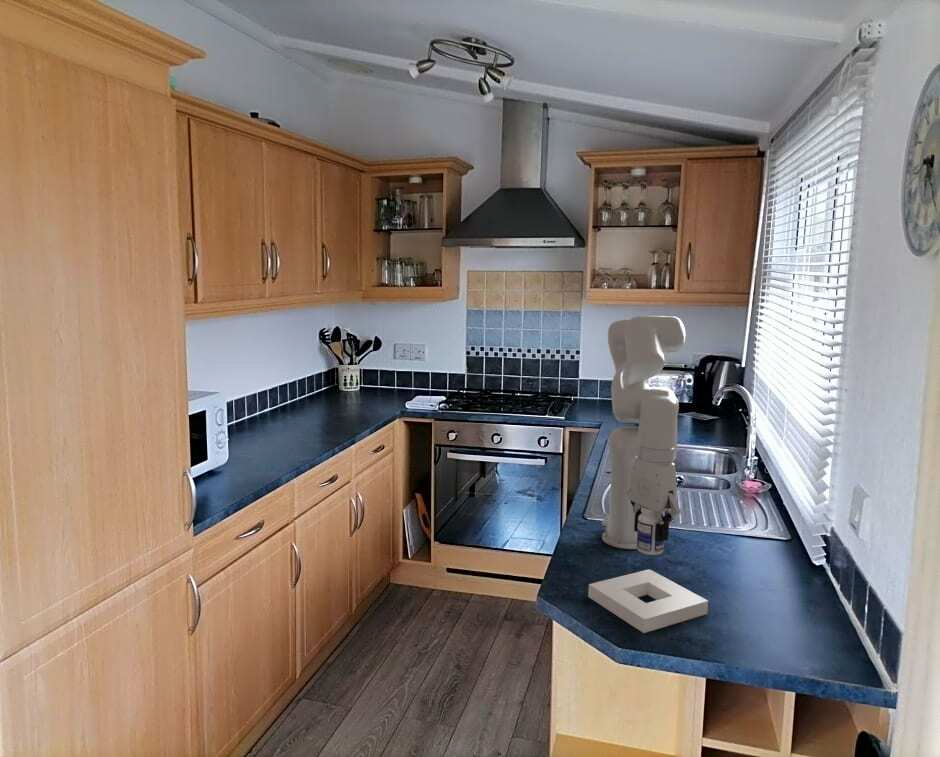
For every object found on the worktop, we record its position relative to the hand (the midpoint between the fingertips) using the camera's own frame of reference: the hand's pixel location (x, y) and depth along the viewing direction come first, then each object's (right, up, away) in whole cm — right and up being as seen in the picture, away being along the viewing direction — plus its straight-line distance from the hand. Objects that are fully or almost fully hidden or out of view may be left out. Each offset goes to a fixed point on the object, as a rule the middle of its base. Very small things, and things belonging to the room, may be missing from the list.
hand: (650, 534), depth 153 cm
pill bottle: (0, -4, +1) cm, 4 cm away
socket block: (0, -16, +3) cm, 16 cm away
